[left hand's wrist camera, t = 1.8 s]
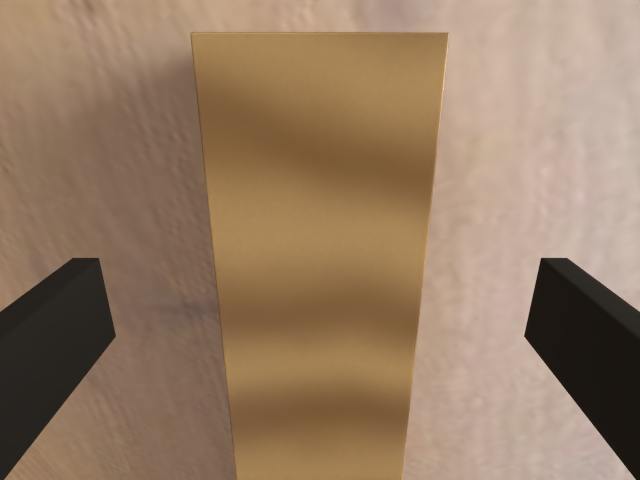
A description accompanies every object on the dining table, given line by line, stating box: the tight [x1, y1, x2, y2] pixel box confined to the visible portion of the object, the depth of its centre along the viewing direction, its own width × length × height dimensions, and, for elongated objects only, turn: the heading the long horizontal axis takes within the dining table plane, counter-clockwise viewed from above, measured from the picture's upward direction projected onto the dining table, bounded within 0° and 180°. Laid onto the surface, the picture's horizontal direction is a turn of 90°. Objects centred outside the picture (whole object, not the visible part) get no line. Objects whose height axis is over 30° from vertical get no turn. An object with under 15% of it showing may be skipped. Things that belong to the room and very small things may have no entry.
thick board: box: [191, 32, 449, 480], centre depth 30 cm, size 55×10×7 cm, turn 0°
